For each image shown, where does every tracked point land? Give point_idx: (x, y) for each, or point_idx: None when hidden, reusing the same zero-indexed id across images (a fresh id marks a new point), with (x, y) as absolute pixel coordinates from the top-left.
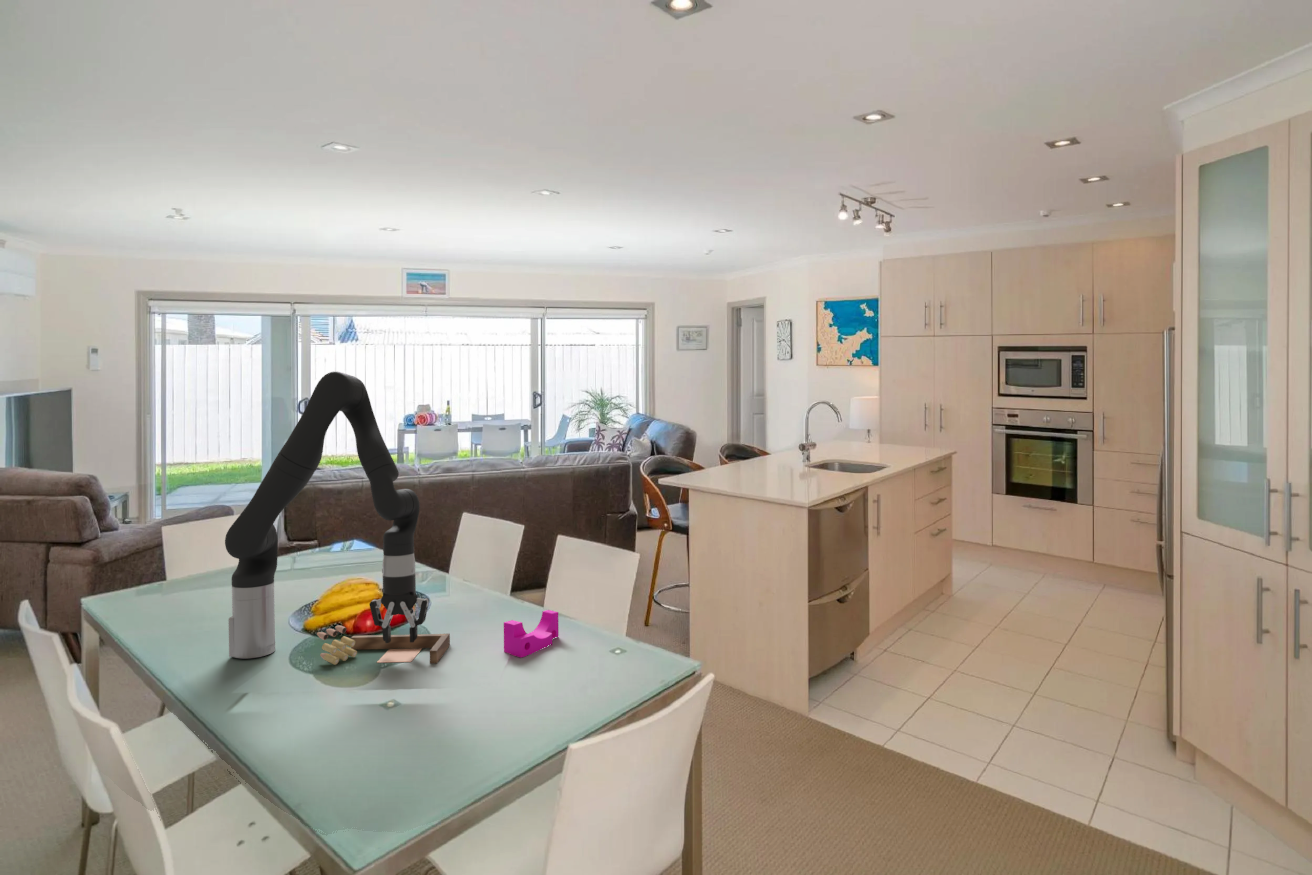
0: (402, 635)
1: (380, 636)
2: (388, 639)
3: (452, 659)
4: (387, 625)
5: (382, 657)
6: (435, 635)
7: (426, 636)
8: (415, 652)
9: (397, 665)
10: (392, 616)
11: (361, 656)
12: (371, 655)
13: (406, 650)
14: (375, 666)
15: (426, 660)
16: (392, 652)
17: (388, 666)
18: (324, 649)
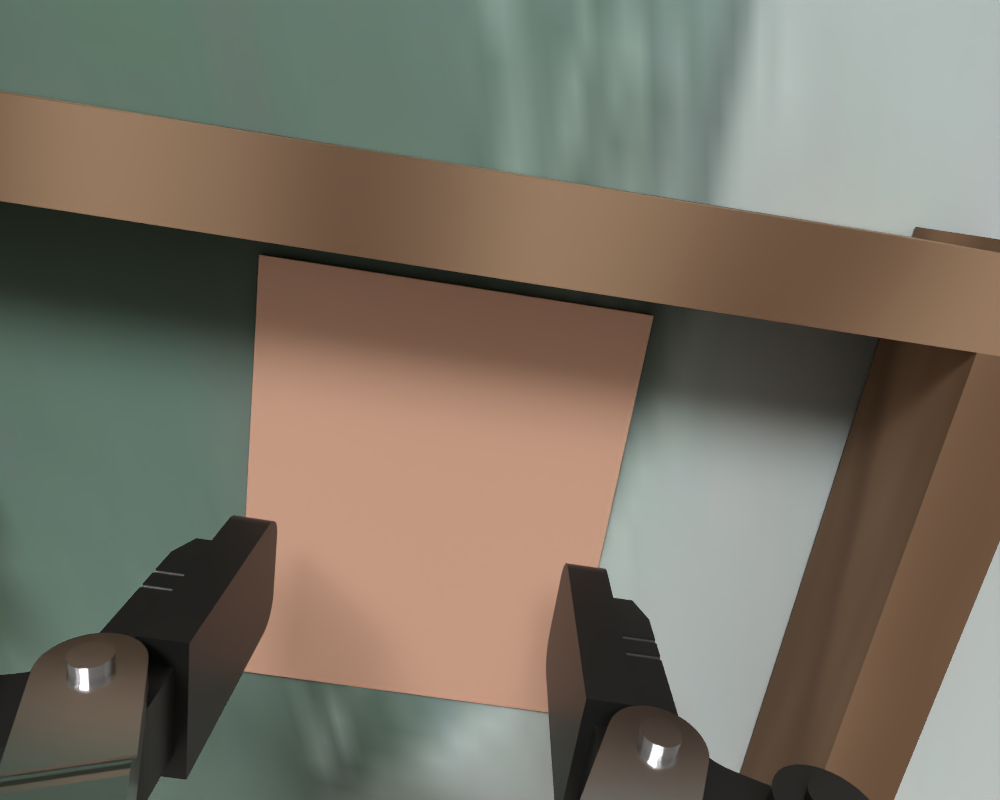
0: (384, 203)
1: (45, 181)
2: (255, 639)
3: (947, 722)
4: (148, 788)
5: None
6: (887, 320)
7: (751, 315)
8: (586, 453)
9: (451, 769)
10: (133, 773)
11: (15, 443)
12: (115, 432)
13: (476, 356)
14: (258, 755)
15: (705, 699)
16: (327, 395)
17: (375, 777)
18: None
